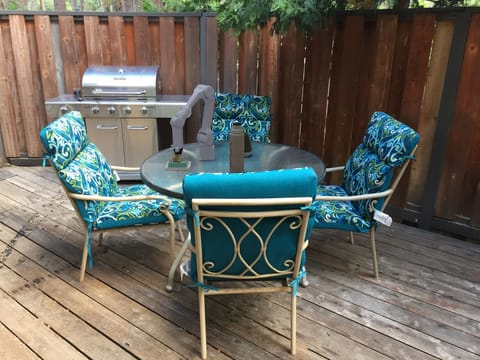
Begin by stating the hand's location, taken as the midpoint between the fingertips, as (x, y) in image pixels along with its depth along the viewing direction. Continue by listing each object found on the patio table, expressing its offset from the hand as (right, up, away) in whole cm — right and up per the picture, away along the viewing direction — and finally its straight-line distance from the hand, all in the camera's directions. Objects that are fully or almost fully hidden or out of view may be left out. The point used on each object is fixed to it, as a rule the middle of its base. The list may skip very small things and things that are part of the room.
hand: (178, 160), depth 238 cm
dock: (0, -4, -3) cm, 5 cm away
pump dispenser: (+38, +4, +19) cm, 43 cm away
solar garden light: (+16, +11, +38) cm, 42 cm away
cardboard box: (0, -2, -4) cm, 5 cm away
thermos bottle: (+34, -8, -12) cm, 37 cm away
